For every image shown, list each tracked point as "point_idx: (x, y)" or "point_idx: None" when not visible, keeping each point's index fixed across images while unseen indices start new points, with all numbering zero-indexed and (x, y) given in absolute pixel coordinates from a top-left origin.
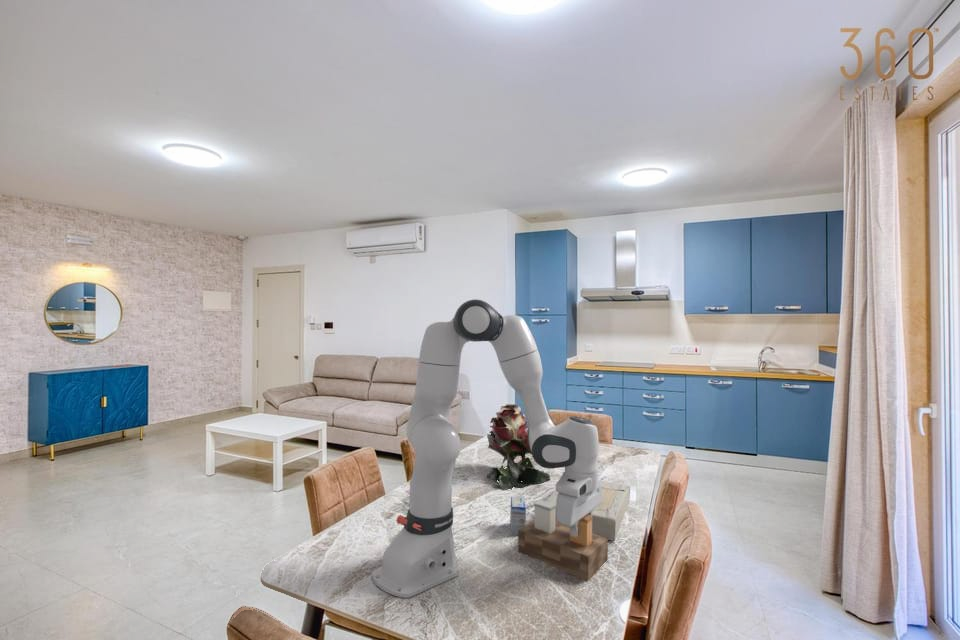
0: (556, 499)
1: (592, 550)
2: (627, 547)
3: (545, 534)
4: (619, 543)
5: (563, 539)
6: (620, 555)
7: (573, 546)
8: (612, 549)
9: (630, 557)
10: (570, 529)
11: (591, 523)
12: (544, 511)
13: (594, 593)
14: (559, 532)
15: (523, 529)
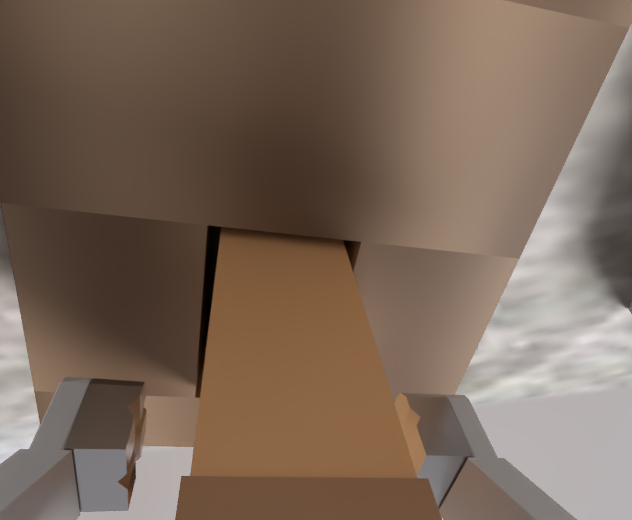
0: None
1: (165, 436)
2: (577, 369)
3: None
4: (615, 331)
5: (184, 177)
6: (475, 365)
7: (112, 311)
8: (531, 320)
9: (472, 401)
10: (211, 326)
11: None
12: None
13: (12, 368)
14: (340, 63)
15: None
